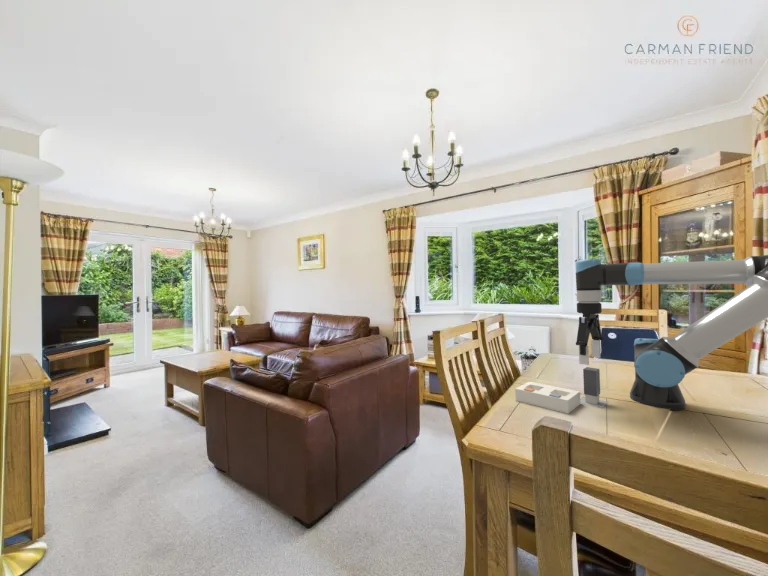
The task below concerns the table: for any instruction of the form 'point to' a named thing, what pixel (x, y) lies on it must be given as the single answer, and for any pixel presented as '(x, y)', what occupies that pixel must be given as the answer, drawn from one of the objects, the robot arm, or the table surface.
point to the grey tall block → (591, 385)
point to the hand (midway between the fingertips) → (590, 360)
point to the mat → (600, 404)
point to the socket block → (548, 396)
